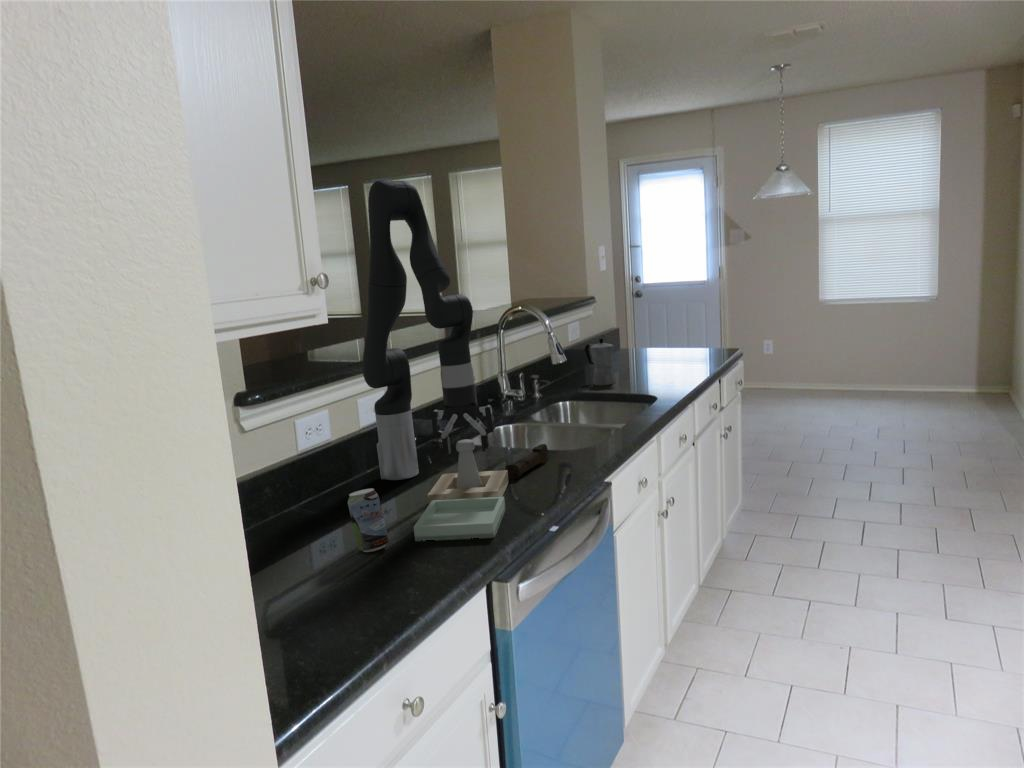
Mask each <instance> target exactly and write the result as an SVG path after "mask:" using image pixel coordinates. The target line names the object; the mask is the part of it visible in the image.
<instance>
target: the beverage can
mask: <svg viewBox="0 0 1024 768" xmlns="http://www.w3.org/2000/svg"><path fill="white" fill-rule="evenodd" d="M348 496H349V497H348V498H347V506H348V510H349V515H350V519H351V524H352V527H353V532H354V536H355V539H356V540H355V541H356V544H357V548H358V550H360V551H362V552H364V553H372V552H376V551H378V550H379V551H380V550H381V549H383V548H385V547H386V545H387V544H388V542H389V536H388V535H389V534H388V530H387V528H386V523H385V518H384V514H383V509H382V506H381V501H380V496H379V494H378V492H376V490H375V488H371V487H370V488H363V489H360V490H356V491H353V492H351V493H349V494H348Z"/></svg>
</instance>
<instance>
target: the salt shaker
mask: <svg viewBox="0 0 1024 768" xmlns="http://www.w3.org/2000/svg"><path fill="white" fill-rule="evenodd" d="M475 447H476V446H475V442H474V440H473V439H470V438H469V439H467V438H466V439H465V438H464V439H460V440H458V441H457V442H456V443H455V450H456V452H458V463H457V473H458V474H457V488H458V489H459V488H477V487H481V486H482V482H481V479H480V476H479V472H480V471H479V469H478V466H477V462H476V459H475V456H474V453H473V451H474V450H475Z"/></svg>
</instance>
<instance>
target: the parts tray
mask: <svg viewBox="0 0 1024 768" xmlns="http://www.w3.org/2000/svg"><path fill="white" fill-rule="evenodd" d="M505 512H506V500H505V496H502V497H487V498H468V499H449V500H432V501H431V503H430V504H429V503H428V506H427V507H426V509H425V510H424V511H423V513H422V514H421V515H420V517H419V519H418V520H417V522H416V523H415V524H414V526H413V534H414V542H427V541H426V540H435V541H448V540H449V541H455V540H471V538H472V540H474V539H473V538H479V539H494V537H496V535H497V533H498V531H499V528H500V526H501V522H502V520H503V518H504V515H505ZM421 540H422V541H421Z"/></svg>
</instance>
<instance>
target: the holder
mask: <svg viewBox="0 0 1024 768" xmlns="http://www.w3.org/2000/svg"><path fill="white" fill-rule="evenodd" d="M478 472H479V476H480V479H481V482H482V486H481V487H477V488H459V489H458V488H457V474H458V472H452V473H451V472H450V473H442V475H441V476H439V477H440V478H439V479H438V480H437V481H436V483H435V484H434V486H433V487H432V489H431V490H430V491H429V492H428V493H427V501H428V505H429V504H430V503H431V501H432V500H449V499H468V498H487V497H504V494H505V491H506V489H507V487H508V484H509V479H508V470H505V469H504V470H485V471H478Z"/></svg>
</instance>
